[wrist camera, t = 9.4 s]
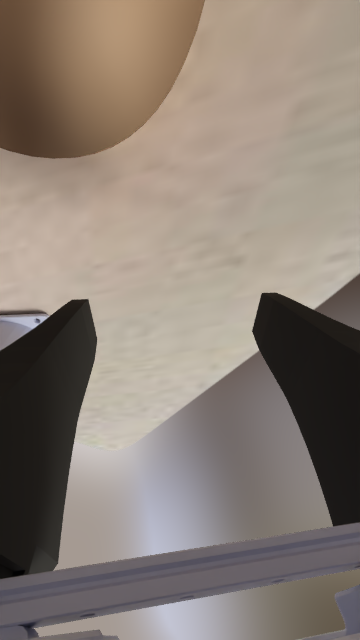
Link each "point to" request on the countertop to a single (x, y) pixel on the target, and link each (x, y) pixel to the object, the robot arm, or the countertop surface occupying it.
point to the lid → (87, 70)
